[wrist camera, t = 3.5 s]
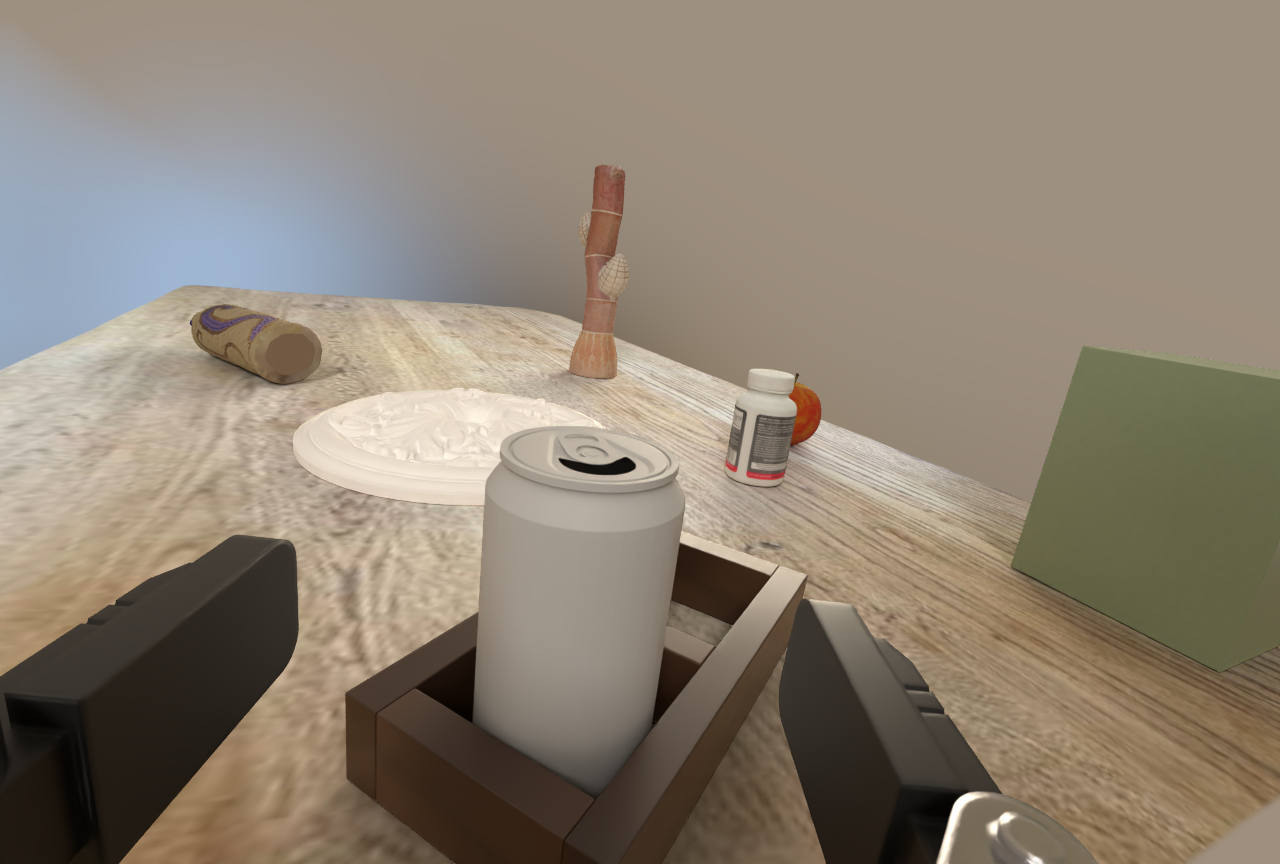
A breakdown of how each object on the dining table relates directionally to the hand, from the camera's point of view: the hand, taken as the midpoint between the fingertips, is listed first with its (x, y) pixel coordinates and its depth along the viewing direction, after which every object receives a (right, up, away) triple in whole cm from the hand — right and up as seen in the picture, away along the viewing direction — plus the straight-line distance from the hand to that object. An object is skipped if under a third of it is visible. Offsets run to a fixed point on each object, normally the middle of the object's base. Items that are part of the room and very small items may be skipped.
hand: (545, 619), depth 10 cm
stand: (+36, -8, +31) cm, 49 cm away
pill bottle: (+12, -1, +46) cm, 47 cm away
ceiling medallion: (-14, +2, +45) cm, 47 cm away
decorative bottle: (-46, +11, +64) cm, 79 cm away
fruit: (+18, +2, +58) cm, 61 cm away
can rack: (+1, -8, +16) cm, 18 cm away
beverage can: (-1, -9, +13) cm, 16 cm away
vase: (-6, +12, +85) cm, 86 cm away
